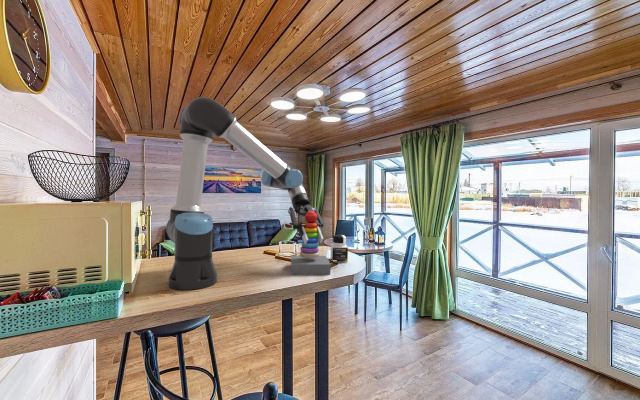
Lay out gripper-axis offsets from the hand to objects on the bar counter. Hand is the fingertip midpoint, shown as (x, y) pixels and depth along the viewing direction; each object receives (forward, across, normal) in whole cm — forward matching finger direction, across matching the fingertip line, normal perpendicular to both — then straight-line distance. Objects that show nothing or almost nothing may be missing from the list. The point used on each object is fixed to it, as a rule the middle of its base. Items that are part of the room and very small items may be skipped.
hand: (314, 241), depth 116 cm
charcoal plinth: (+6, 0, -11) cm, 13 cm away
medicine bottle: (0, -19, -18) cm, 26 cm away
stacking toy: (+2, 0, -8) cm, 8 cm away
